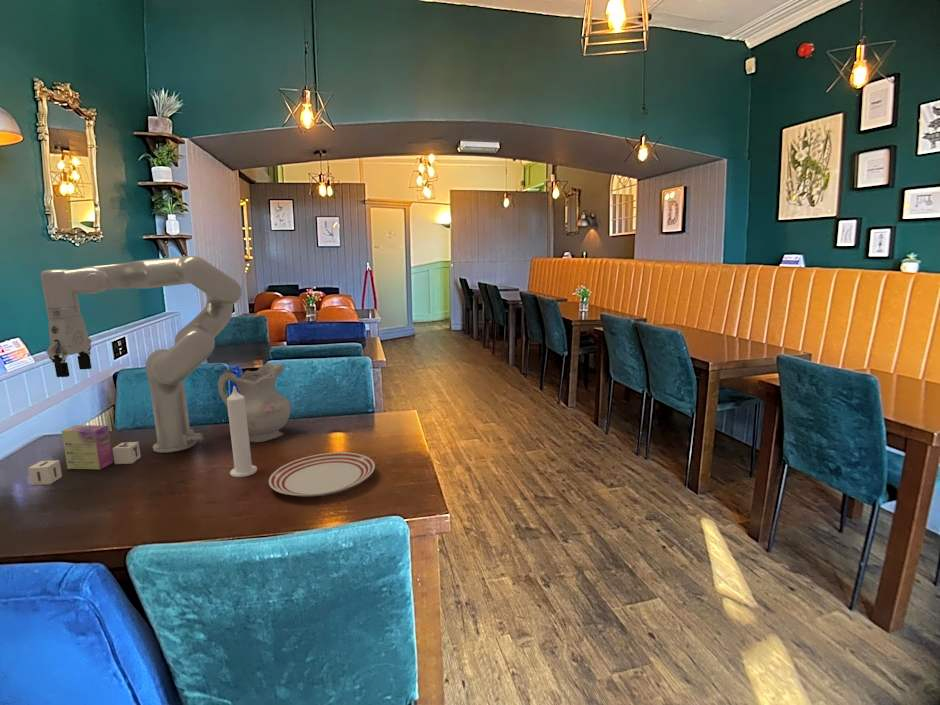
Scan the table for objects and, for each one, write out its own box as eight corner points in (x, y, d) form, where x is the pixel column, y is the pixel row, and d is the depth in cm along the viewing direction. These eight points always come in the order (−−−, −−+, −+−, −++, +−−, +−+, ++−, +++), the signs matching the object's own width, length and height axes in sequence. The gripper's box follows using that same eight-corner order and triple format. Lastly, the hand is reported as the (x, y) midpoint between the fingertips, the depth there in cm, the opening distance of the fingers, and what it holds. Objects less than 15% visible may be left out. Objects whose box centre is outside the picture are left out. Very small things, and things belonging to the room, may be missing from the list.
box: (114, 462, 167) (108, 424, 164) (100, 470, 161) (93, 431, 159) (82, 462, 168) (76, 424, 165) (67, 469, 162) (60, 430, 160)
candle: (262, 468, 158) (253, 383, 154) (245, 478, 152) (235, 390, 147) (242, 466, 161) (233, 382, 156) (224, 475, 154) (214, 388, 149)
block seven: (141, 457, 170) (139, 441, 169) (132, 463, 165) (130, 447, 164) (124, 458, 170) (121, 442, 169) (114, 464, 165) (112, 447, 164)
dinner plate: (278, 515, 130) (277, 502, 130) (262, 475, 154) (261, 463, 154) (389, 489, 143) (389, 477, 142) (359, 455, 167) (358, 445, 166)
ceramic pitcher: (248, 455, 172) (244, 378, 166) (210, 441, 182) (205, 367, 176) (303, 435, 190) (301, 364, 184) (265, 423, 200) (262, 355, 194)
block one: (62, 477, 157) (59, 459, 156) (50, 484, 152) (47, 466, 151) (43, 477, 157) (40, 460, 156) (30, 485, 151) (27, 467, 150)
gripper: (56, 317, 148) (68, 379, 151) (96, 309, 165) (106, 365, 168) (27, 318, 147) (39, 380, 151) (71, 310, 164) (81, 366, 168)
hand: (74, 372), depth 159 cm, fingers open, 9 cm apart
